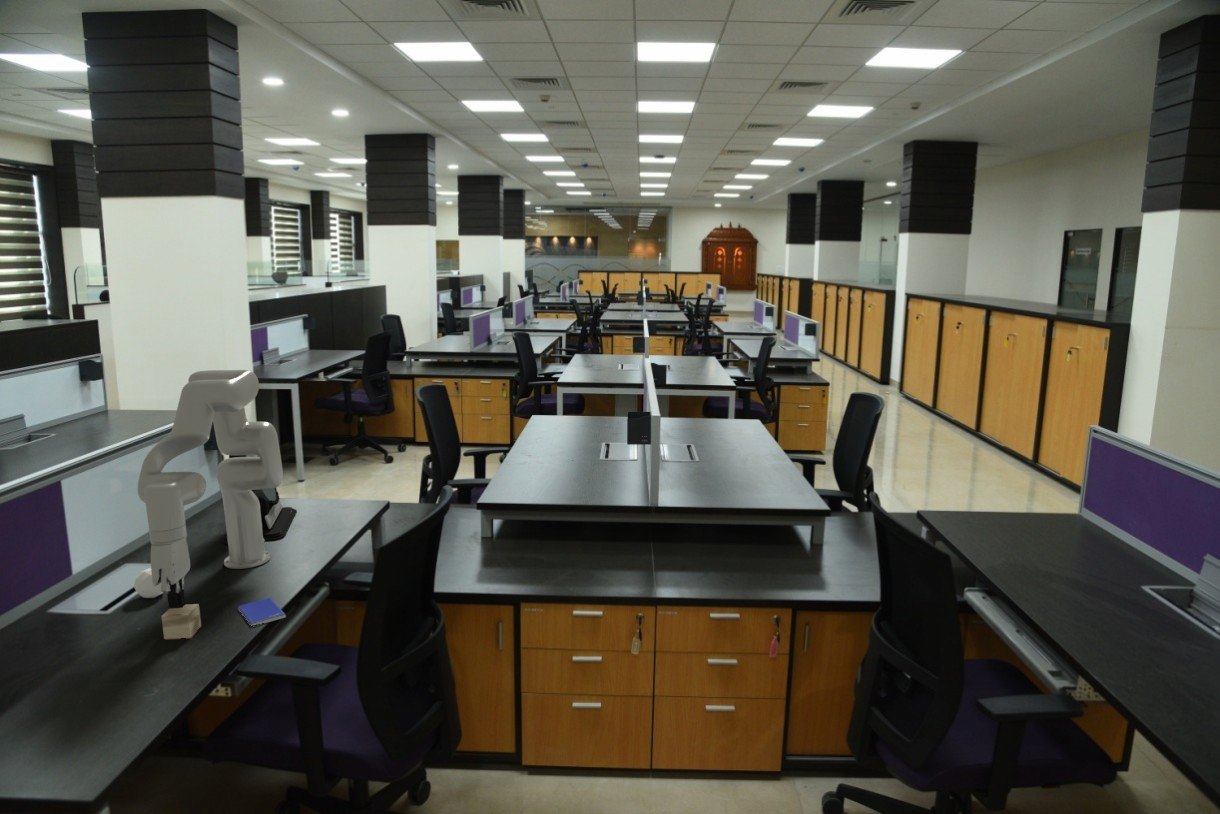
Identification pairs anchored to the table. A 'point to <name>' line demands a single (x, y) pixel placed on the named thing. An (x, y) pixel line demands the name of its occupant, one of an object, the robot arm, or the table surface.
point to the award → (271, 512)
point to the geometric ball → (147, 585)
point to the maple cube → (181, 622)
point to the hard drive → (261, 611)
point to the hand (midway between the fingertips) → (177, 606)
